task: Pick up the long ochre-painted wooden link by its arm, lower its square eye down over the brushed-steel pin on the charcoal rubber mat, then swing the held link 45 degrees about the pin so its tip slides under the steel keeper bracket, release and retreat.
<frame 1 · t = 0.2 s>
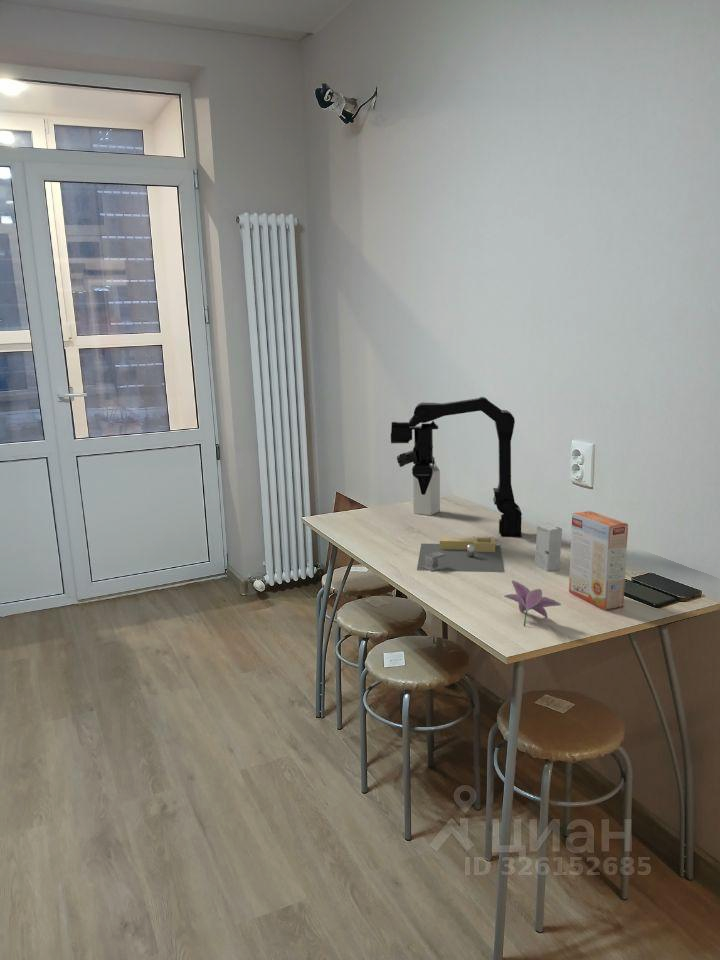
hand: (424, 491, 240), 14 cm above the table, fingers open, 9 cm apart
mat: (460, 557, 219), on the table
milk carton: (426, 512, 270), on the table
lily: (530, 620, 174), on the table
keeper: (431, 568, 210), resting on mat
skincare box: (547, 568, 208), on the table
cracker box: (595, 600, 185), on the table
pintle: (470, 556, 219), resting on mat
link: (442, 547, 228), resting on mat
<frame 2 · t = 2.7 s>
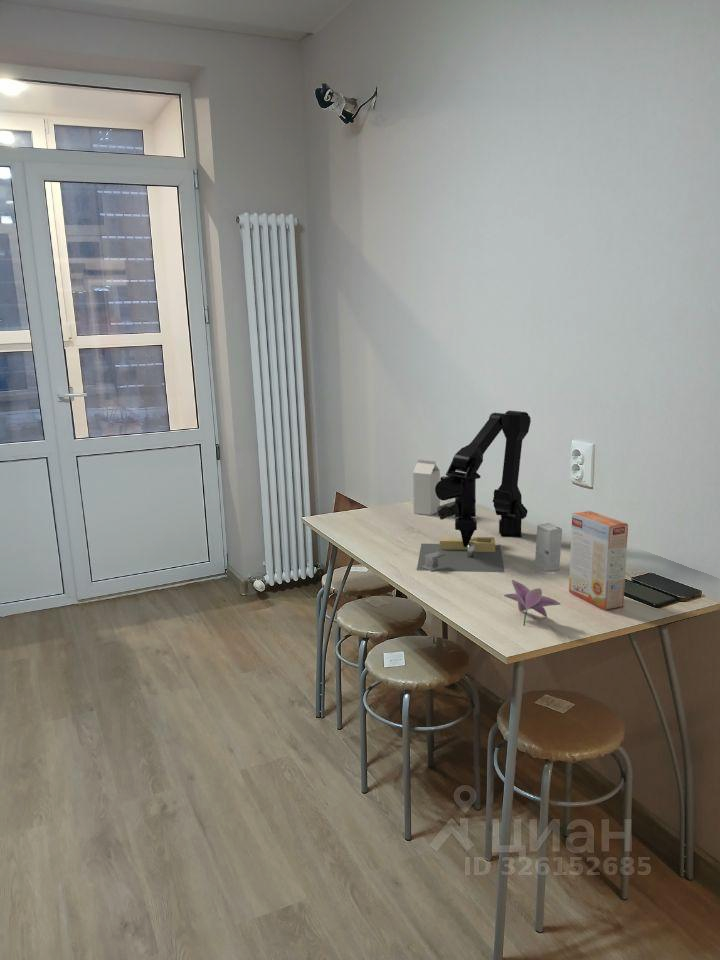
hand: (465, 544, 226), 1 cm above the table, fingers closed on link, 3 cm apart
link: (442, 547, 228), resting on mat, touching gripper
everything else where it was.
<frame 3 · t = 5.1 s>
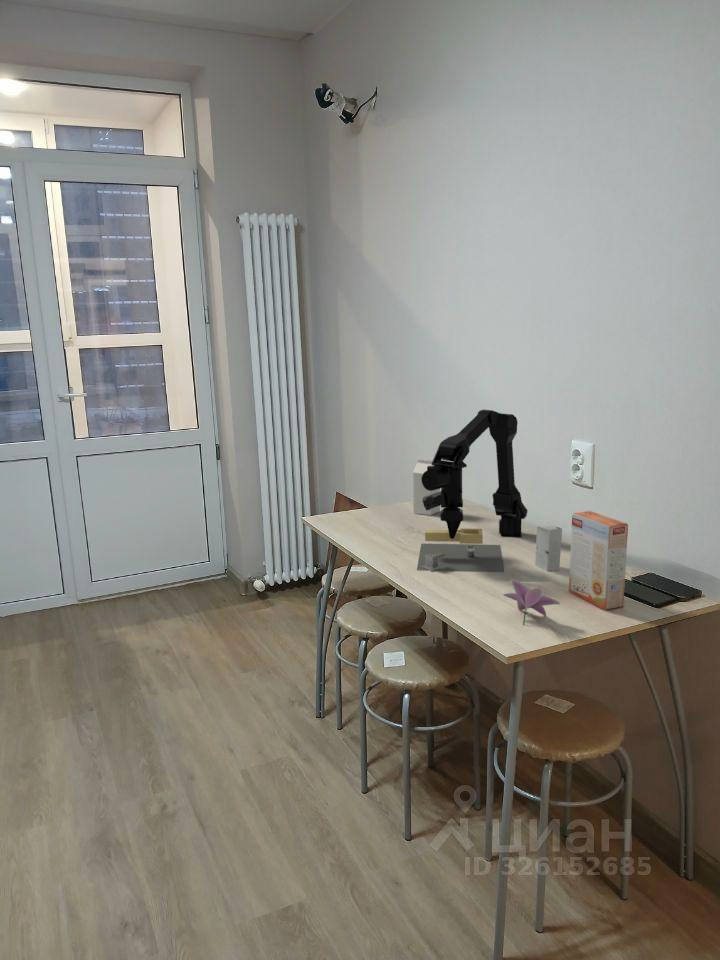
hand: (452, 536, 218), 6 cm above the table, fingers closed on link, 3 cm apart
link: (427, 539, 219), point 5 cm above the table, touching gripper
everything else where it was.
when the fingers open (1 cm above the table, at t = 7.4 s): link stays where it is, resting on mat.
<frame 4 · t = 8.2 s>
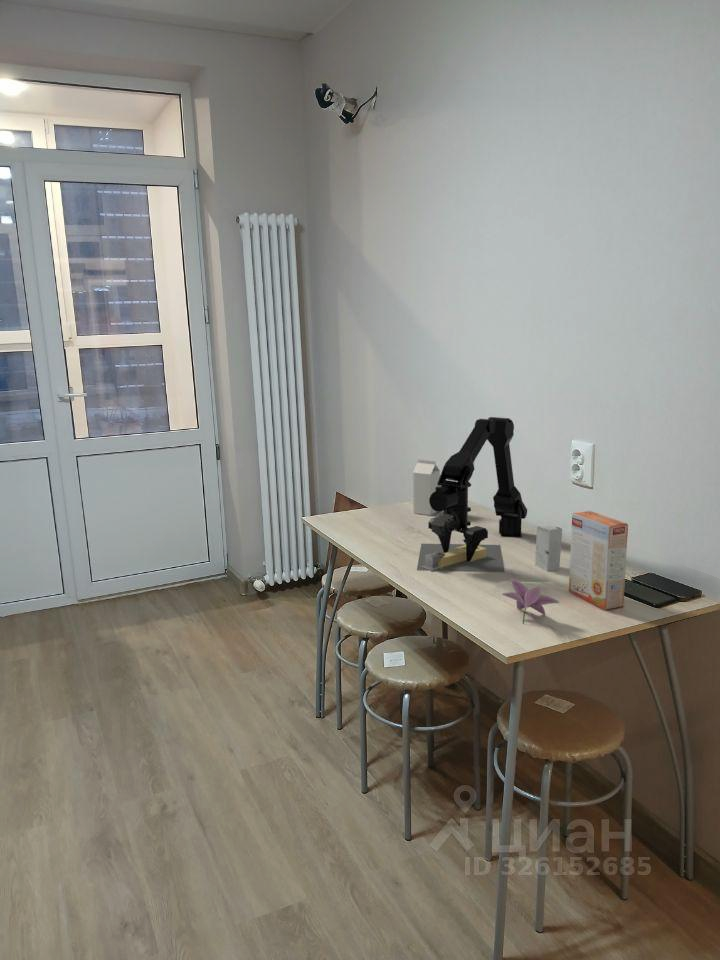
hand: (457, 557, 215), 1 cm above the table, fingers open, 9 cm apart
link: (439, 565, 211), resting on mat
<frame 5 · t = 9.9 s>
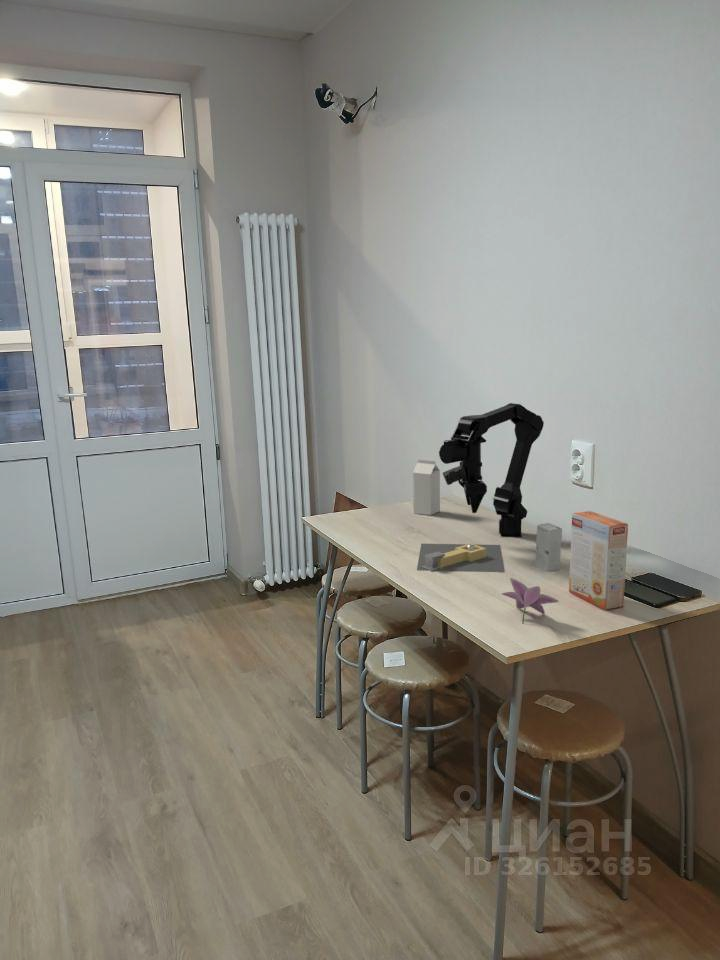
hand: (471, 508, 228), 11 cm above the table, fingers open, 9 cm apart
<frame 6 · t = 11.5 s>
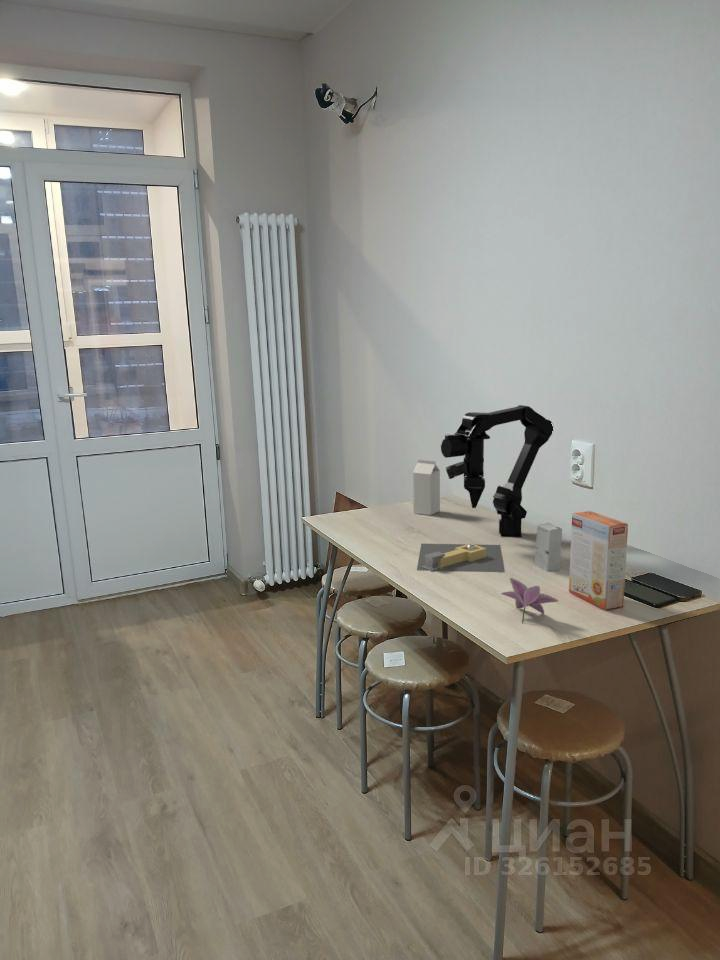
hand: (473, 504, 232), 12 cm above the table, fingers open, 9 cm apart
at the end: link 0.2 cm from the target spot on the keeper, point 0.0 cm above the keeper's base; link tilted 0°; the gripper is holding nothing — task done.
